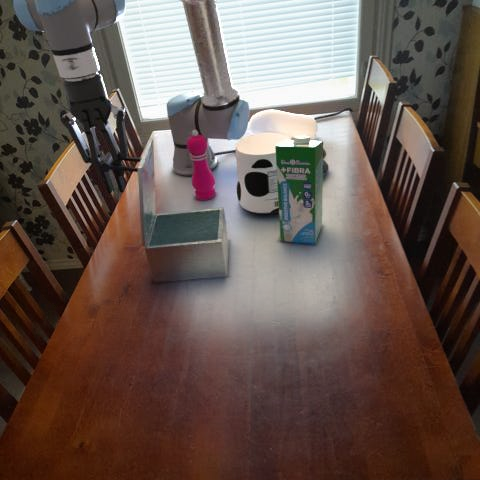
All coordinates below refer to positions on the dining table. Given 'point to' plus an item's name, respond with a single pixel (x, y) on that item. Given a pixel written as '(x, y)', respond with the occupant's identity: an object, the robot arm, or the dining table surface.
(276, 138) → the milk container
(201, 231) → the metal tin
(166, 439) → the dining table surface
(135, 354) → the dining table surface
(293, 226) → the milk carton
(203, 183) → the pepper mill
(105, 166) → the box lid
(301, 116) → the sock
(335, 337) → the dining table surface
